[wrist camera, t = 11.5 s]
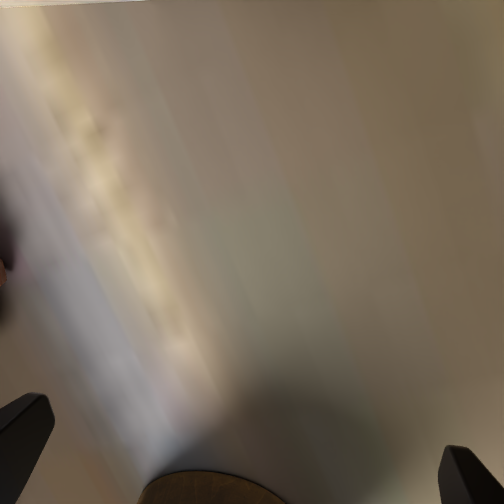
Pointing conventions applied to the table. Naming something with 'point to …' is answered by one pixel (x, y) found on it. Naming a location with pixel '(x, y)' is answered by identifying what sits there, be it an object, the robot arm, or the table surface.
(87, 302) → the table surface
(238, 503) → the wooden container
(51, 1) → the white square tube
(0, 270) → the brown rounded hollow piece
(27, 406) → the robot arm
